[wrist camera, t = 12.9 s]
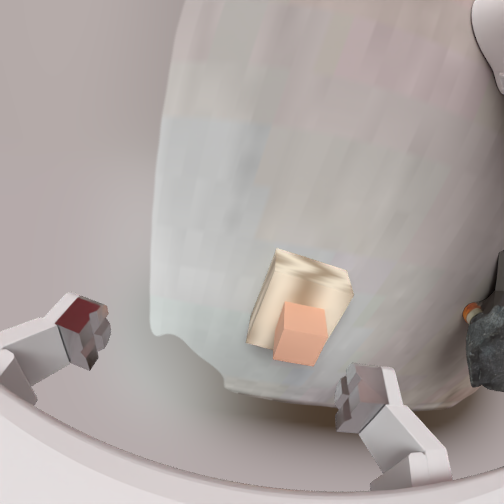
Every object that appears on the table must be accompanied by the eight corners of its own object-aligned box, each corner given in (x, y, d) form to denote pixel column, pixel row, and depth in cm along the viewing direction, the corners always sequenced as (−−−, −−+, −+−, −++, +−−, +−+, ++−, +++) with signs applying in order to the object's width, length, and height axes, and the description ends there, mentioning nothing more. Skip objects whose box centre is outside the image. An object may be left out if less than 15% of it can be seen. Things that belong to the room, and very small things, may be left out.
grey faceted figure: (436, 287, 39) (486, 375, 23) (510, 245, 34) (575, 311, 18) (447, 344, 44) (480, 424, 28) (512, 307, 39) (557, 374, 23)
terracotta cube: (324, 309, 36) (328, 337, 32) (311, 338, 38) (313, 366, 34) (284, 301, 36) (283, 328, 32) (274, 331, 38) (272, 359, 34)
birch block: (346, 269, 40) (353, 294, 35) (312, 332, 45) (314, 360, 40) (276, 247, 40) (274, 270, 34) (250, 315, 45) (245, 342, 40)
